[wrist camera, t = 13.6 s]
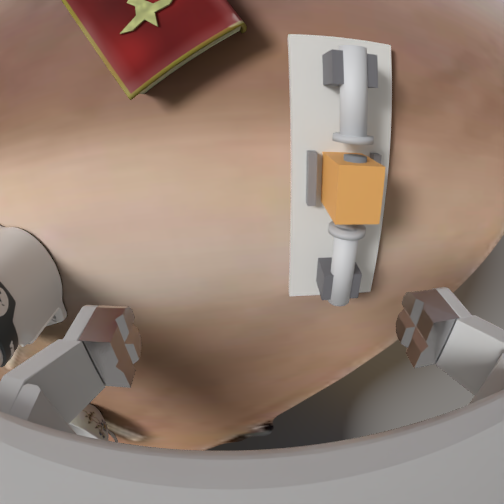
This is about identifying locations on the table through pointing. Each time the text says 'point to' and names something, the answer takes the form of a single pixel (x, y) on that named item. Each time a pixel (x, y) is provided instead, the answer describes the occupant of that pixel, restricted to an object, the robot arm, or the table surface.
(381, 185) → the block
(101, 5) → the hardcover book
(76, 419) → the teacup
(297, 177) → the shaft rig
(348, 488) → the robot arm
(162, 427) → the table surface
